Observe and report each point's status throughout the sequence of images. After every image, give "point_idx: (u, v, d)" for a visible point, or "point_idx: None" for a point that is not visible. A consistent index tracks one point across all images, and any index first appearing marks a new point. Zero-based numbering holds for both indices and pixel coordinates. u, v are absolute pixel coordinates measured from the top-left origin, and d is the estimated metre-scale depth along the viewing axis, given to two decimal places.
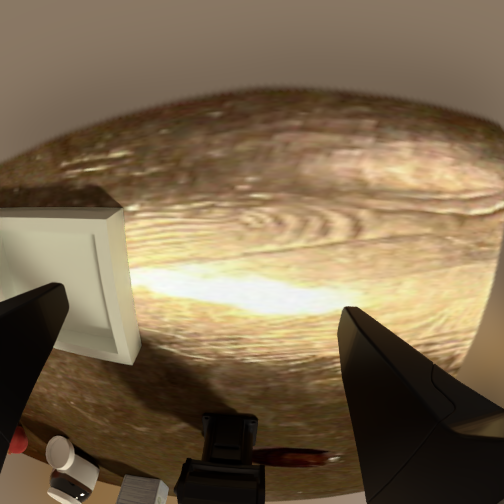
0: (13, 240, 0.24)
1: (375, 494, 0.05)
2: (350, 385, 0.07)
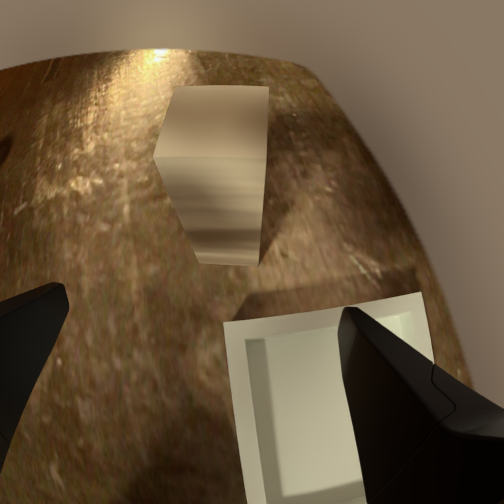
0: None
1: (375, 494, 0.05)
2: (350, 385, 0.07)
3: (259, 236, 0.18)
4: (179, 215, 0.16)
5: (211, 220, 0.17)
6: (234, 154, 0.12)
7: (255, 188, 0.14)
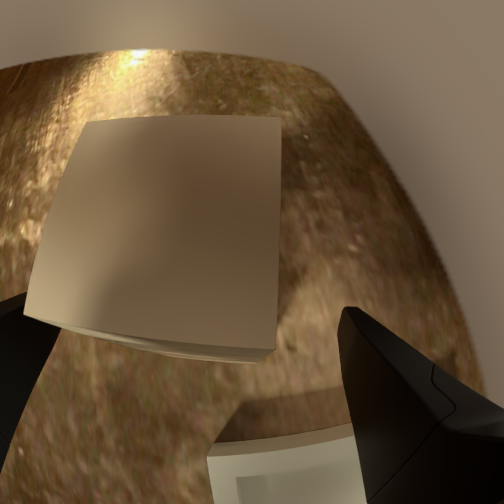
0: None
1: (375, 494, 0.05)
2: (350, 385, 0.07)
3: (256, 361, 0.11)
4: (124, 345, 0.09)
5: (176, 353, 0.10)
6: (191, 335, 0.04)
7: (248, 354, 0.06)
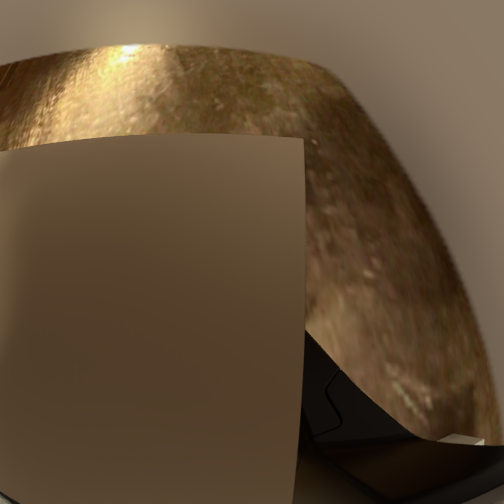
0: None
1: None
2: None
3: None
4: None
5: None
6: None
7: None
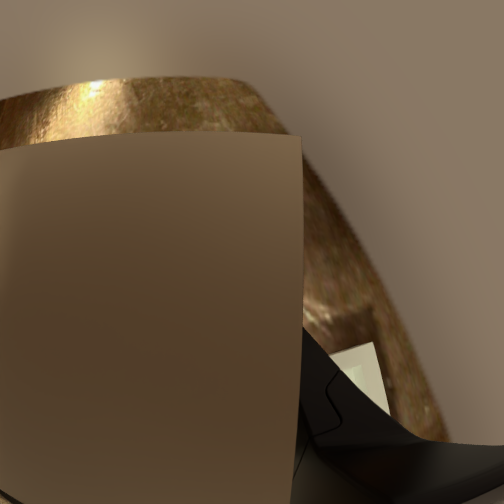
0: None
1: None
2: None
3: None
4: None
5: None
6: None
7: None
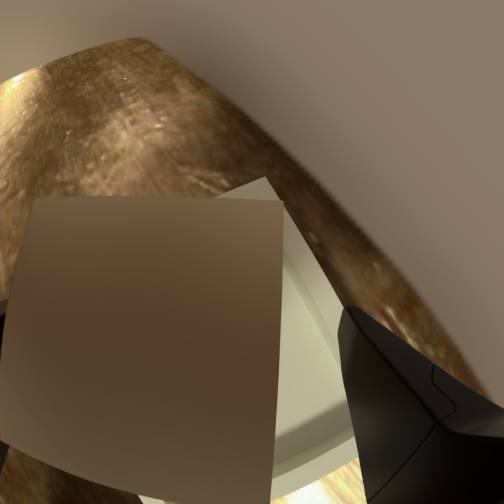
0: None
1: (375, 494, 0.05)
2: (350, 385, 0.07)
3: None
4: None
5: None
6: (176, 495, 0.03)
7: None
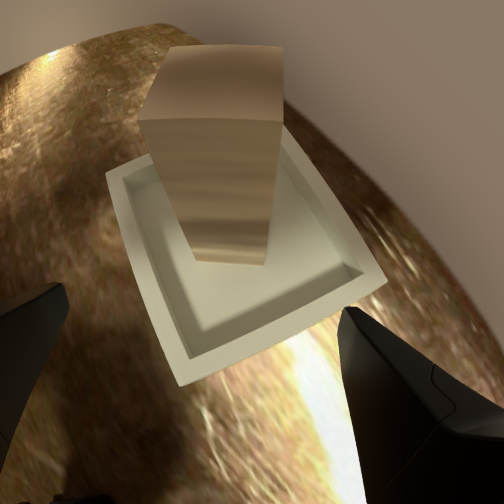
0: None
1: (375, 494, 0.05)
2: (350, 385, 0.07)
3: (267, 229, 0.15)
4: (171, 201, 0.13)
5: (210, 208, 0.14)
6: (241, 116, 0.09)
7: (266, 164, 0.11)
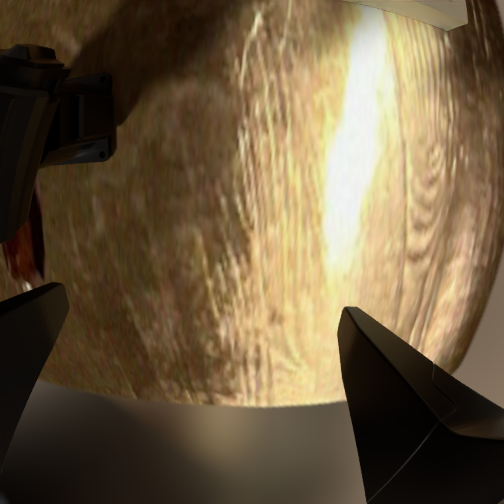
0: None
1: (375, 494, 0.05)
2: (350, 385, 0.07)
3: None
4: None
5: None
6: None
7: None
